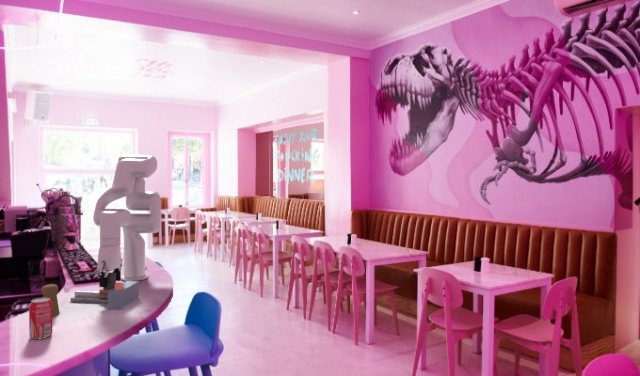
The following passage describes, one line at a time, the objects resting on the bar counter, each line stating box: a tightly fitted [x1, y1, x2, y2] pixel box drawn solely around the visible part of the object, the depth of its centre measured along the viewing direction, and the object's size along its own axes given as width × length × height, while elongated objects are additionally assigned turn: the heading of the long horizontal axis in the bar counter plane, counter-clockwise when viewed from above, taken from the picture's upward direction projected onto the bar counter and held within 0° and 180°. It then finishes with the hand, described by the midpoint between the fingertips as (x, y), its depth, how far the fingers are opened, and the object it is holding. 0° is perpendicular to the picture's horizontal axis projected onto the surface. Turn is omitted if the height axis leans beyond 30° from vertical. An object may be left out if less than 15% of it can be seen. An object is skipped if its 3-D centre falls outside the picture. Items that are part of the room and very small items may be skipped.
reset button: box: [114, 282, 124, 290], centre depth 172 cm, size 3×3×6 cm
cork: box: [41, 283, 60, 318], centre depth 161 cm, size 6×6×11 cm
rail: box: [70, 290, 108, 304], centre depth 179 cm, size 6×19×4 cm, turn 86°
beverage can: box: [28, 297, 53, 340], centre depth 140 cm, size 6×6×12 cm
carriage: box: [98, 271, 117, 298], centre depth 178 cm, size 4×6×9 cm
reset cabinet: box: [107, 280, 140, 310], centre depth 176 cm, size 15×5×7 cm, turn 176°
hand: (110, 283), depth 178 cm, fingers open, 9 cm apart
